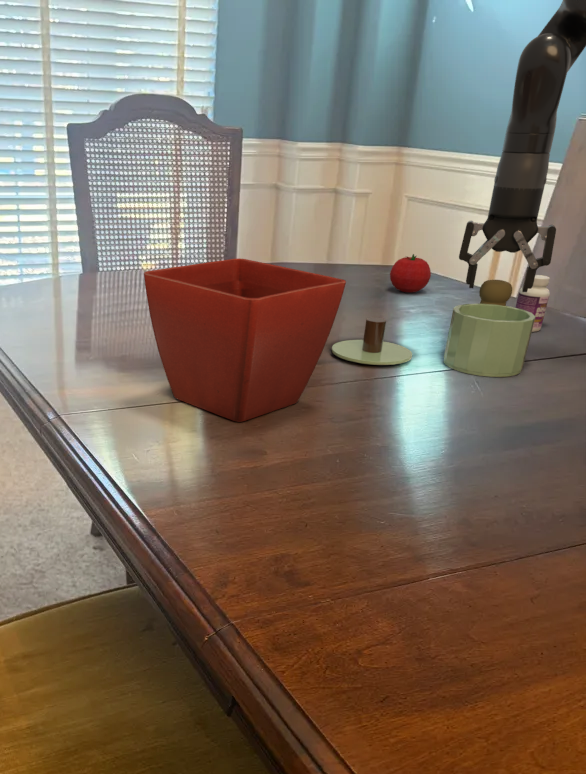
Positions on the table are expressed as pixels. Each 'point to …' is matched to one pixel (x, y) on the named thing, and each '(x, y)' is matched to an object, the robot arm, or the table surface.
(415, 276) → the tomato
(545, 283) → the pill bottle
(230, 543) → the table surface
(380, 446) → the table surface
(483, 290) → the pepper mill
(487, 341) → the pot
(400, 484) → the table surface
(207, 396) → the flower pot
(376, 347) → the pot lid
